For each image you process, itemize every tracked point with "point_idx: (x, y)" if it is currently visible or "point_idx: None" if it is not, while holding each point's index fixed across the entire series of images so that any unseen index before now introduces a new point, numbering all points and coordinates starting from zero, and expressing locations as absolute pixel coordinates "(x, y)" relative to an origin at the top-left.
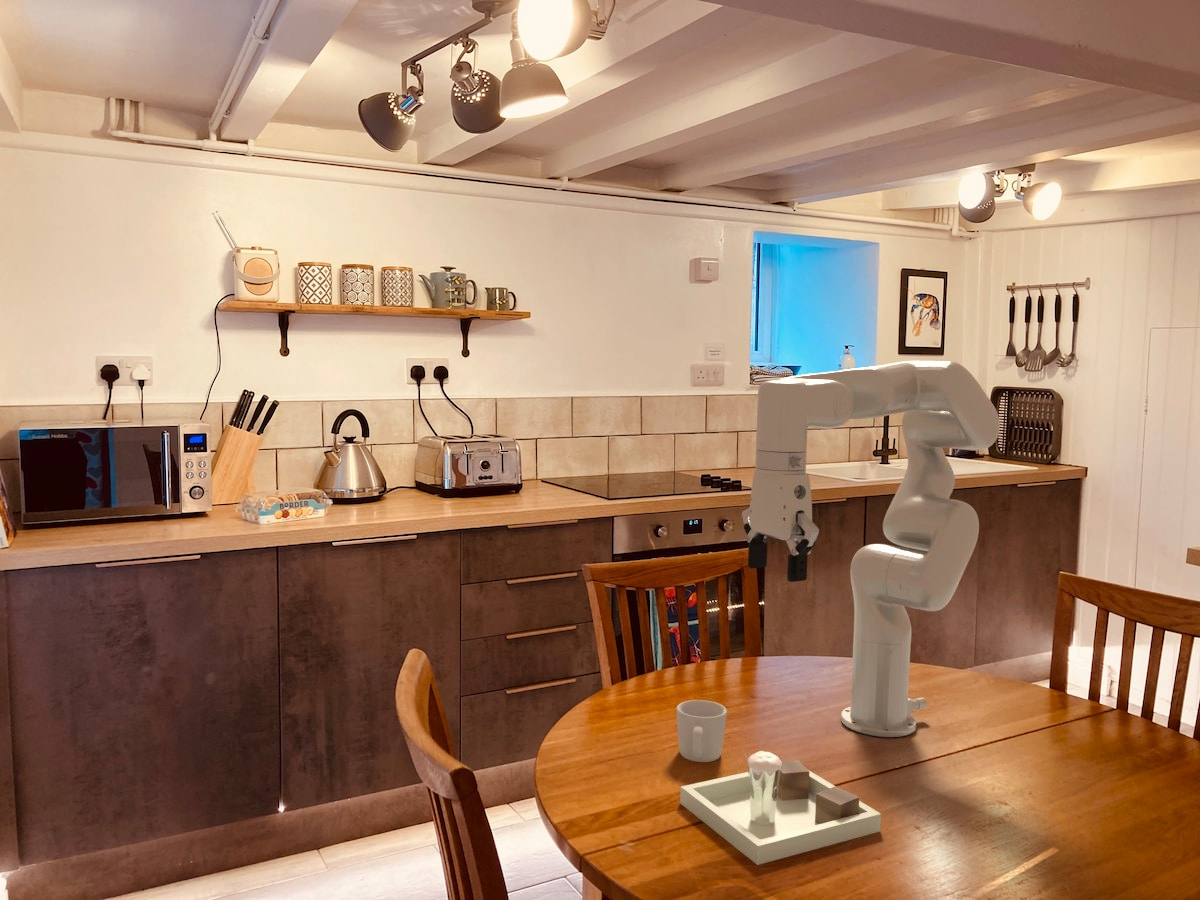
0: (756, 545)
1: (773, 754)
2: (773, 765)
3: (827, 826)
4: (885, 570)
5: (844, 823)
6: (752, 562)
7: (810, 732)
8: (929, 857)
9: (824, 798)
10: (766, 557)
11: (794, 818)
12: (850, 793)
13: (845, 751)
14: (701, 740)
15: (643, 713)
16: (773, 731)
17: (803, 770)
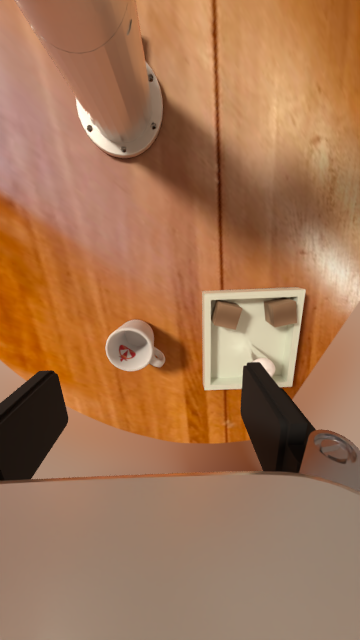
0: (12, 479)
1: (262, 364)
2: (274, 372)
3: (297, 336)
4: None
5: (300, 323)
6: (59, 431)
7: (119, 207)
8: (333, 276)
9: (282, 325)
10: (36, 391)
11: (254, 330)
12: (287, 303)
13: (170, 205)
14: (164, 361)
15: (37, 332)
16: (106, 243)
17: (239, 312)
